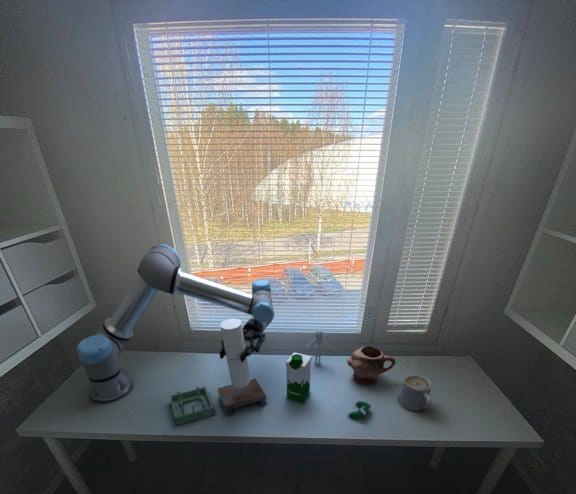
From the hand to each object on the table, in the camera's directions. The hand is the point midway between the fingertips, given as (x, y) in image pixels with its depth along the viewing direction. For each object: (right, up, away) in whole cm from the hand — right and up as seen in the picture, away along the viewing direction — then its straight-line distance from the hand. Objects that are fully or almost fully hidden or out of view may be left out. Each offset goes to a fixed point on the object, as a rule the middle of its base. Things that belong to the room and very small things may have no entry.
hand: (231, 357), depth 112 cm
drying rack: (-18, -20, +14) cm, 30 cm away
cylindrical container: (+2, -9, +11) cm, 15 cm away
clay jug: (+55, -9, +30) cm, 63 cm away
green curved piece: (+47, -21, +12) cm, 53 cm away
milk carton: (+24, -15, +20) cm, 35 cm away
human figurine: (+34, -2, +39) cm, 52 cm away
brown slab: (+1, -17, +17) cm, 24 cm away
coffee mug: (+69, -19, +15) cm, 73 cm away
